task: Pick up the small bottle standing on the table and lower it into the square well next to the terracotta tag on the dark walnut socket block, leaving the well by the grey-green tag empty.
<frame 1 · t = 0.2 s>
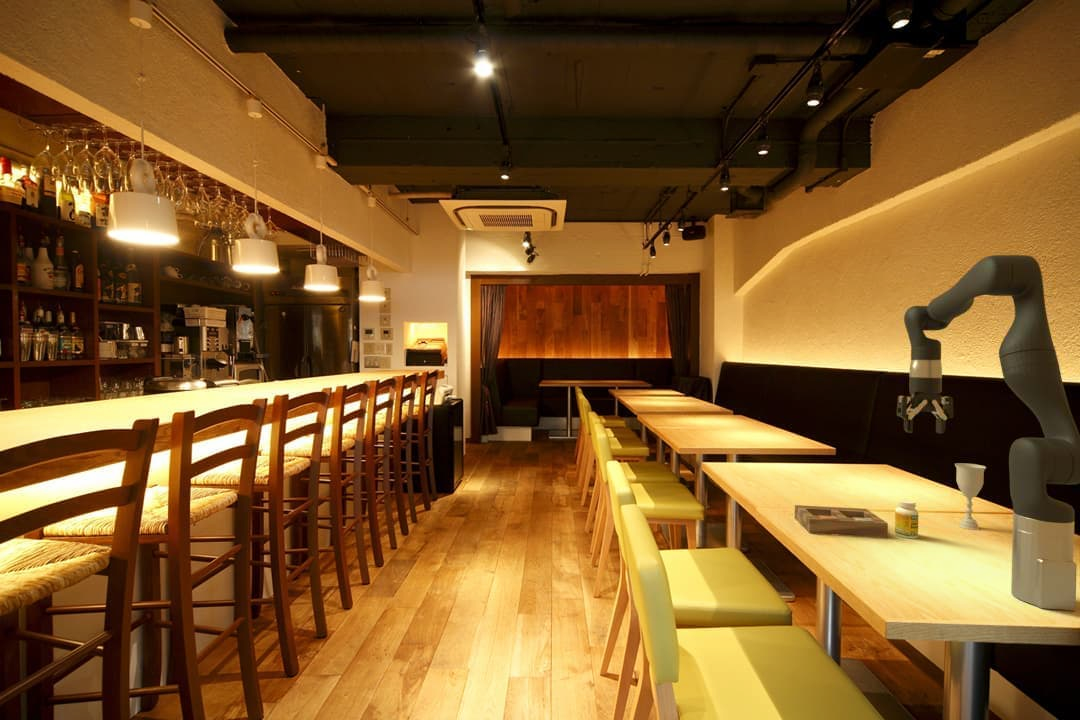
hand: (924, 432, 155), 28 cm above the table, tool pointing down, fingers open, 8 cm apart
supplement bottle: (906, 536, 150), on the table
socket block: (838, 527, 157), on the table
chalice: (968, 527, 158), on the table
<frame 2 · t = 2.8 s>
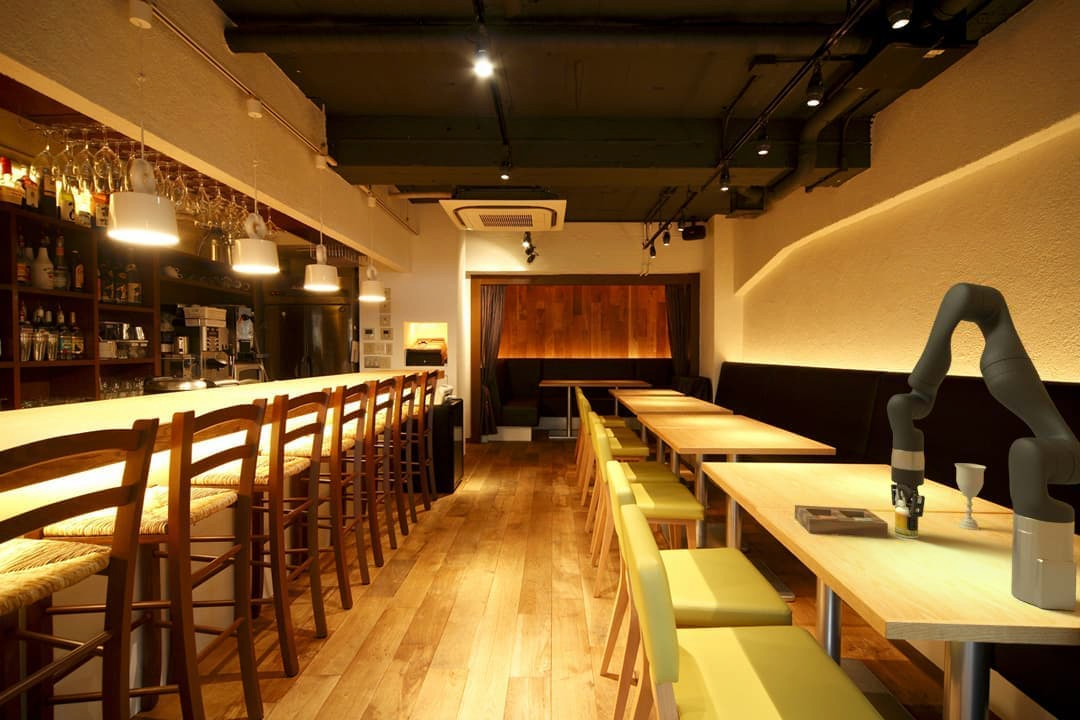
hand: (906, 526, 150), 3 cm above the table, tool pointing down, fingers closed on supplement bottle, 5 cm apart
supplement bottle: (906, 536, 150), on the table, touching gripper
everything else where it was.
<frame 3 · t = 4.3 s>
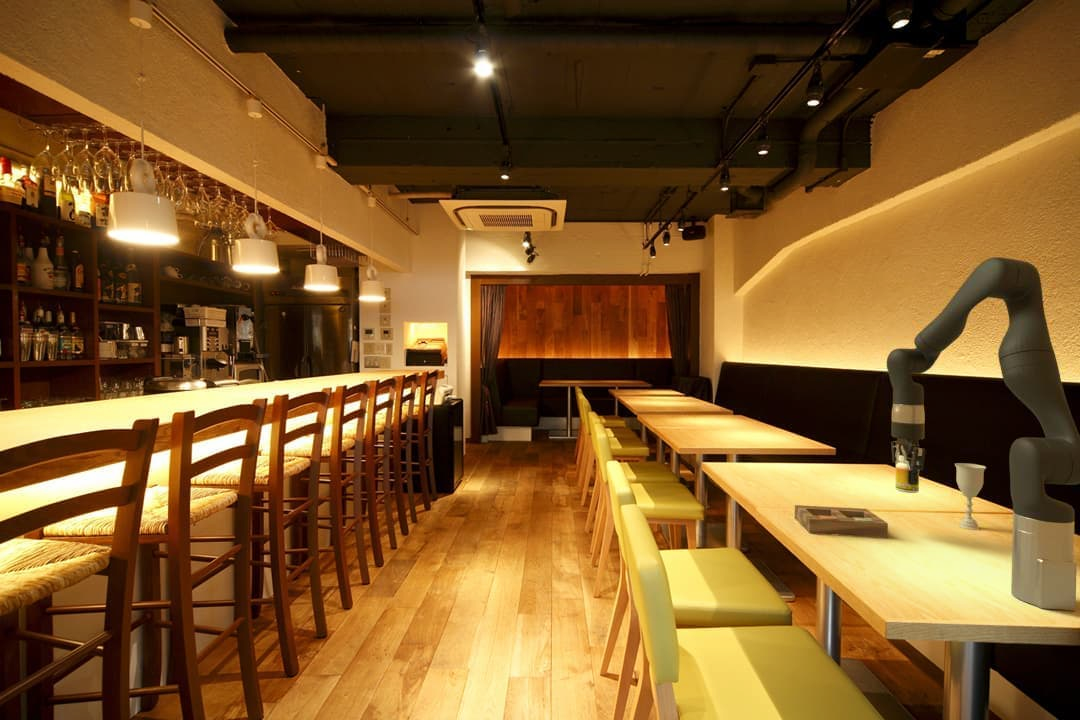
hand: (907, 481, 150), 15 cm above the table, tool pointing down, fingers closed on supplement bottle, 5 cm apart
supplement bottle: (906, 491, 150), point 12 cm above the table, touching gripper
everything else where it was.
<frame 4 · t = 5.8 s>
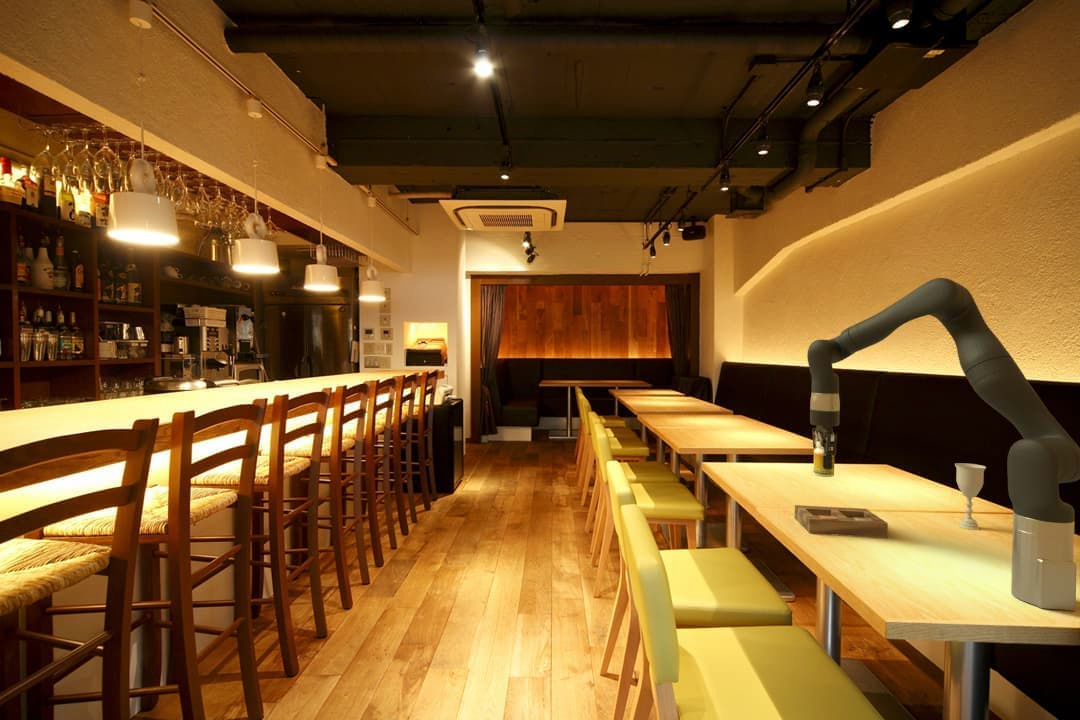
hand: (823, 466, 157), 17 cm above the table, tool pointing down, fingers closed on supplement bottle, 5 cm apart
supplement bottle: (823, 475, 158), point 15 cm above the table, touching gripper
everything else where it was.
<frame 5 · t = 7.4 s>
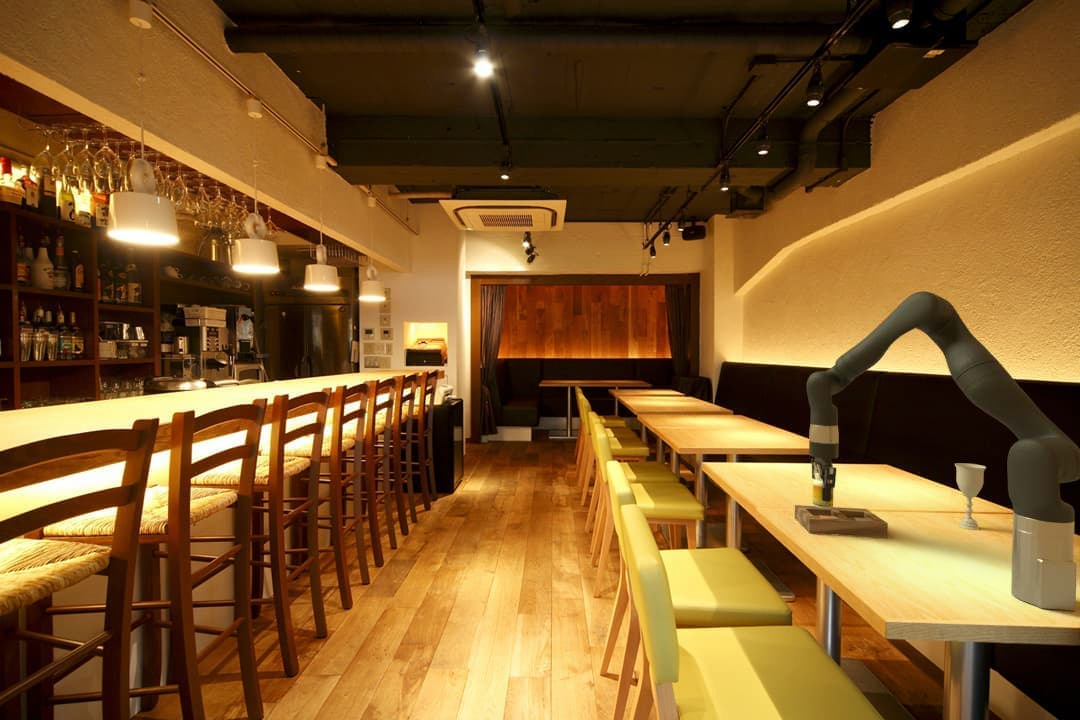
hand: (822, 498, 158), 8 cm above the table, tool pointing down, fingers closed on supplement bottle, 5 cm apart
supplement bottle: (822, 507, 158), point 6 cm above the table, touching gripper
everything else where it was.
when the fingers open (5 cm above the table, at t = 8.6 s): supplement bottle drops 2 cm, resting in socket block.
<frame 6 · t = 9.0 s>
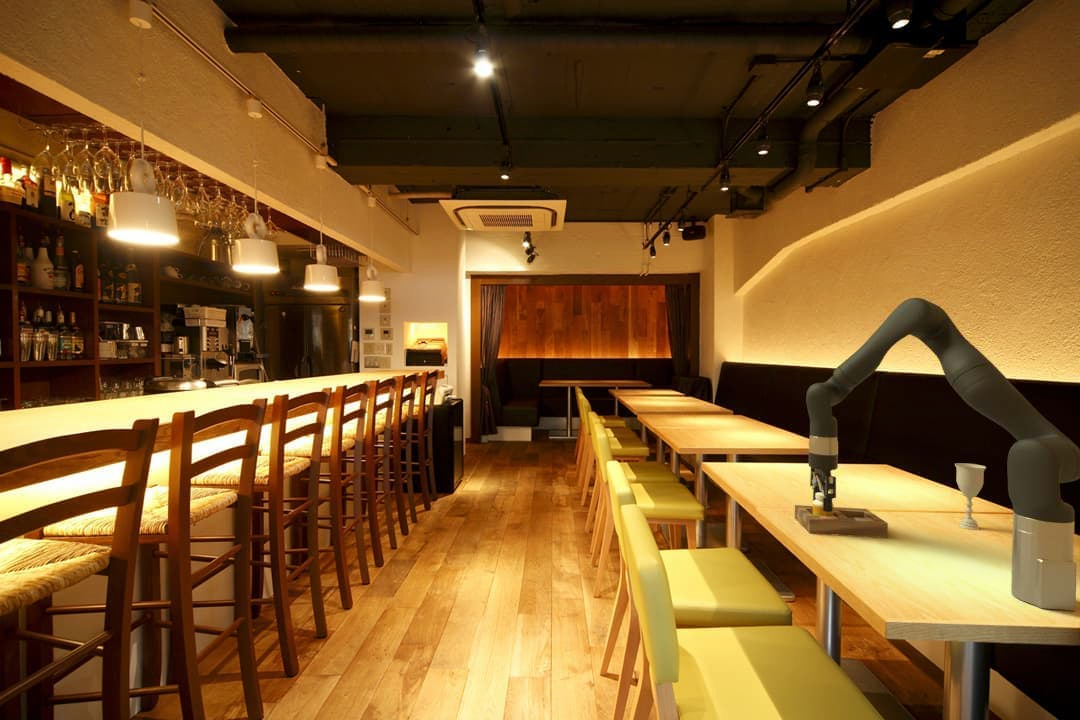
hand: (822, 507, 158), 6 cm above the table, tool pointing down, fingers open, 8 cm apart
supplement bottle: (822, 527, 157), resting in socket block
everything else where it was.
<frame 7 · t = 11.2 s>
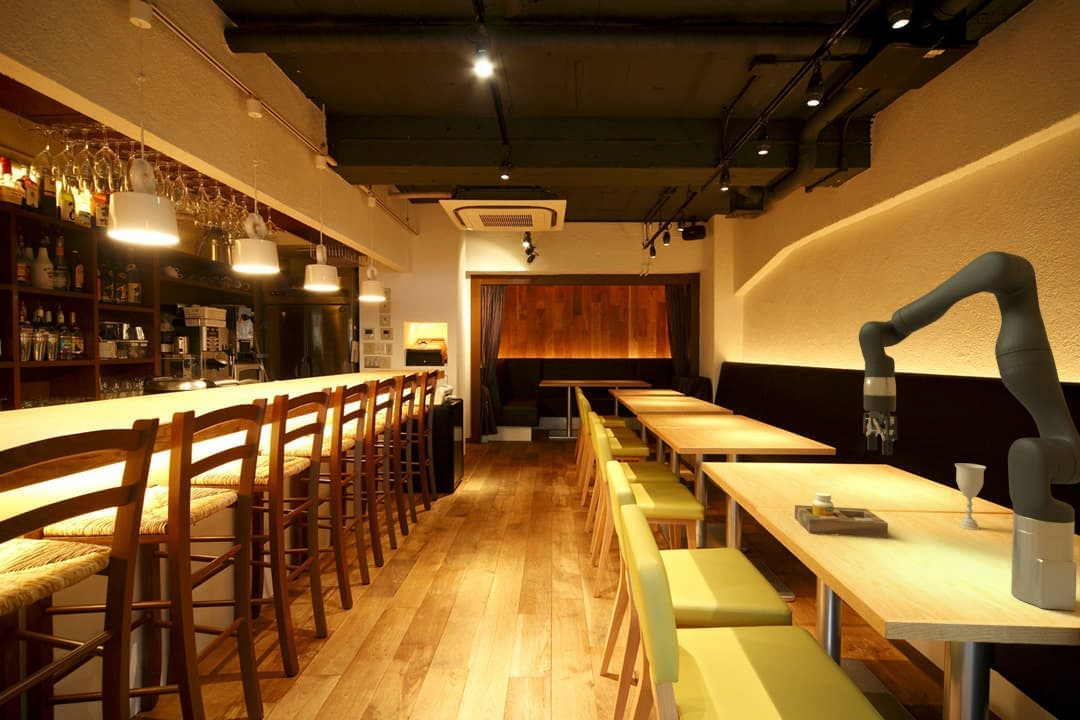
hand: (879, 452, 150), 23 cm above the table, tool pointing down, fingers open, 8 cm apart
nothing on the table moved.
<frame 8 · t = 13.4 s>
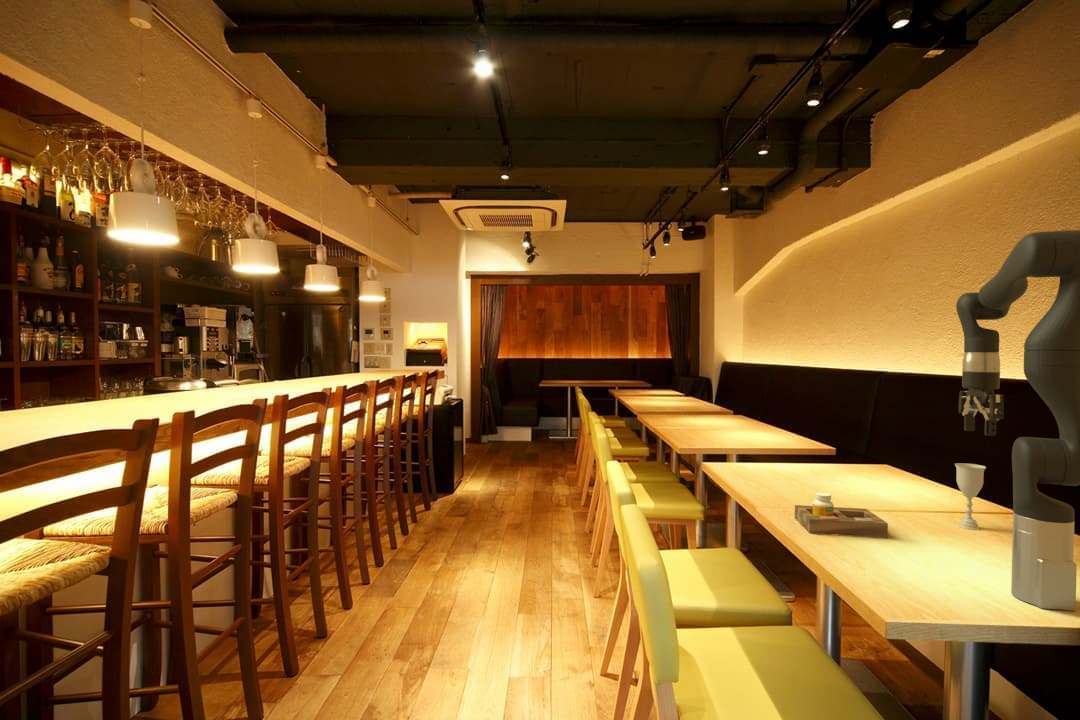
hand: (979, 433, 140), 30 cm above the table, tool pointing down, fingers open, 8 cm apart
nothing on the table moved.
at the end: supplement bottle 0.4 cm from the target spot on the socket block, point 0.0 cm above the socket block's base; supplement bottle tilted 0°; the gripper is holding nothing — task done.
